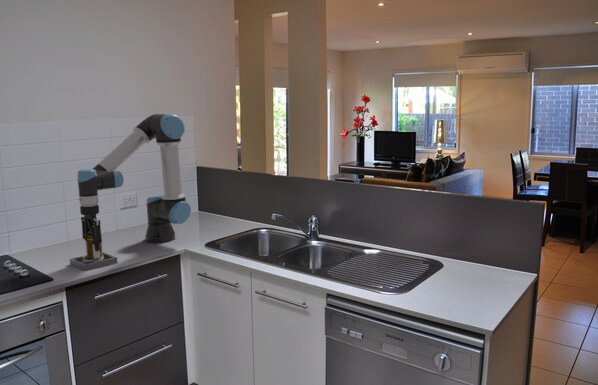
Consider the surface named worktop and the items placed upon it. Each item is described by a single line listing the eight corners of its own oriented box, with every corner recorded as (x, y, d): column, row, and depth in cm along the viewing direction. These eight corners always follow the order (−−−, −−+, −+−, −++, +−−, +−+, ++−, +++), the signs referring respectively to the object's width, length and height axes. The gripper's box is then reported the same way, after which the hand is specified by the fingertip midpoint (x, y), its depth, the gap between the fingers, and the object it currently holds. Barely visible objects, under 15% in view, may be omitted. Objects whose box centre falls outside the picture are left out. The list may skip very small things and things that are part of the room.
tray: (102, 256, 235) (102, 251, 235) (117, 262, 226) (117, 257, 225) (70, 264, 224) (69, 258, 224) (84, 270, 215) (83, 265, 215)
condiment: (103, 259, 224) (101, 232, 222) (83, 261, 220) (80, 234, 218) (102, 254, 230) (100, 228, 228) (82, 257, 227) (80, 231, 225)
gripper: (71, 203, 225) (75, 254, 228) (90, 209, 212) (95, 262, 216) (87, 201, 230) (91, 250, 234) (108, 206, 217) (112, 258, 221)
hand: (93, 256), depth 225 cm, fingers closed on condiment, 6 cm apart
